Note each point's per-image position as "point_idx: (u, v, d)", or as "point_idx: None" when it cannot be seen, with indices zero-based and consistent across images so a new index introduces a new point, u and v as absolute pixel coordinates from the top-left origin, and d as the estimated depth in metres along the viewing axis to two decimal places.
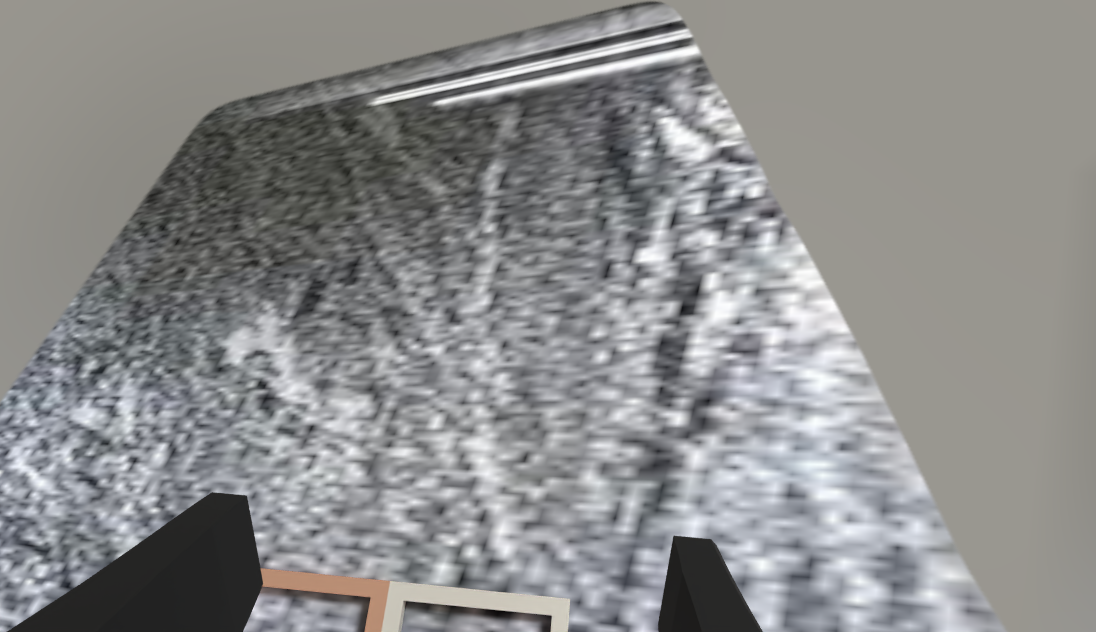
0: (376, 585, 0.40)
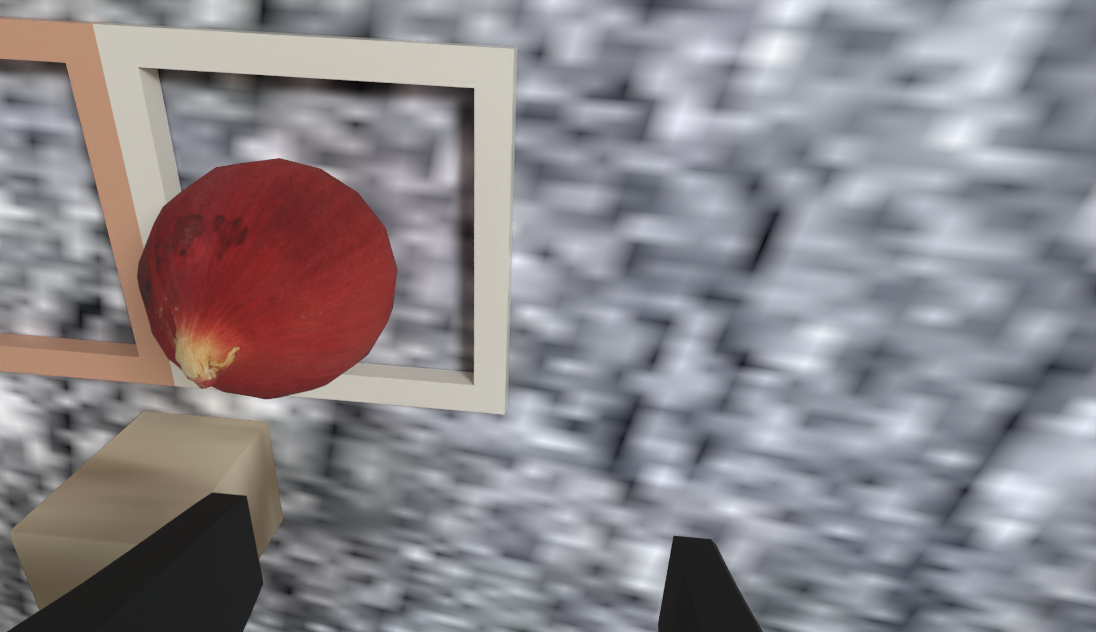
0: (66, 35, 0.17)
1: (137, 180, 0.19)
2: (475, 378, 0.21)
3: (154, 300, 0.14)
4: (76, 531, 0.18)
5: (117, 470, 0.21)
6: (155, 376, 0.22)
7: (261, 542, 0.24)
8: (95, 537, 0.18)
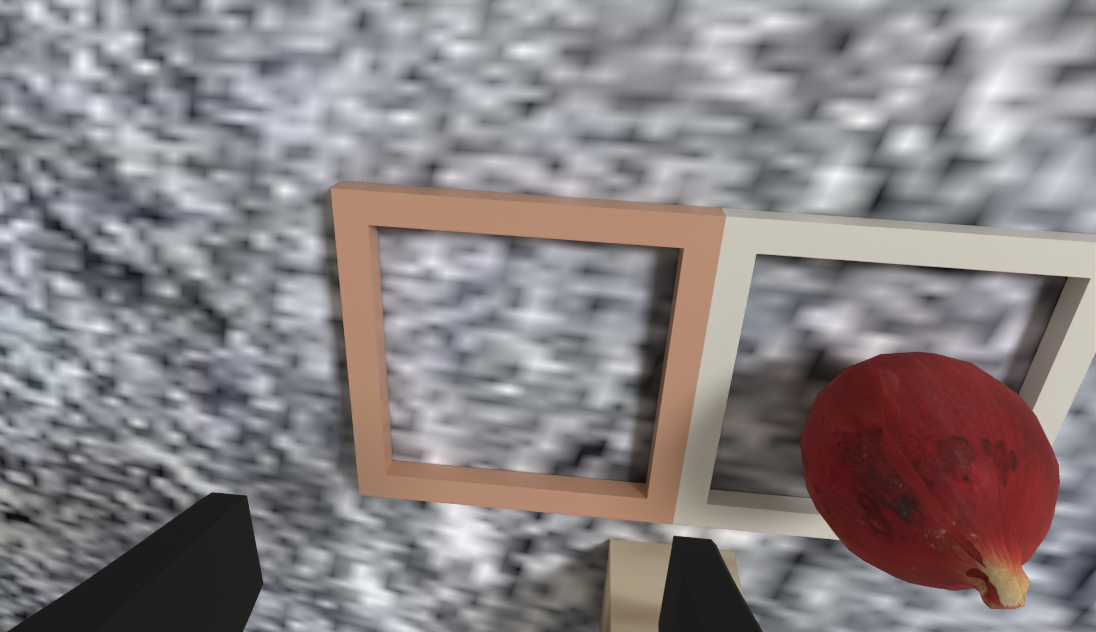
0: (695, 225, 0.18)
1: (712, 348, 0.20)
2: None
3: (927, 519, 0.15)
4: None
5: (646, 613, 0.22)
6: (656, 515, 0.23)
7: None
8: None
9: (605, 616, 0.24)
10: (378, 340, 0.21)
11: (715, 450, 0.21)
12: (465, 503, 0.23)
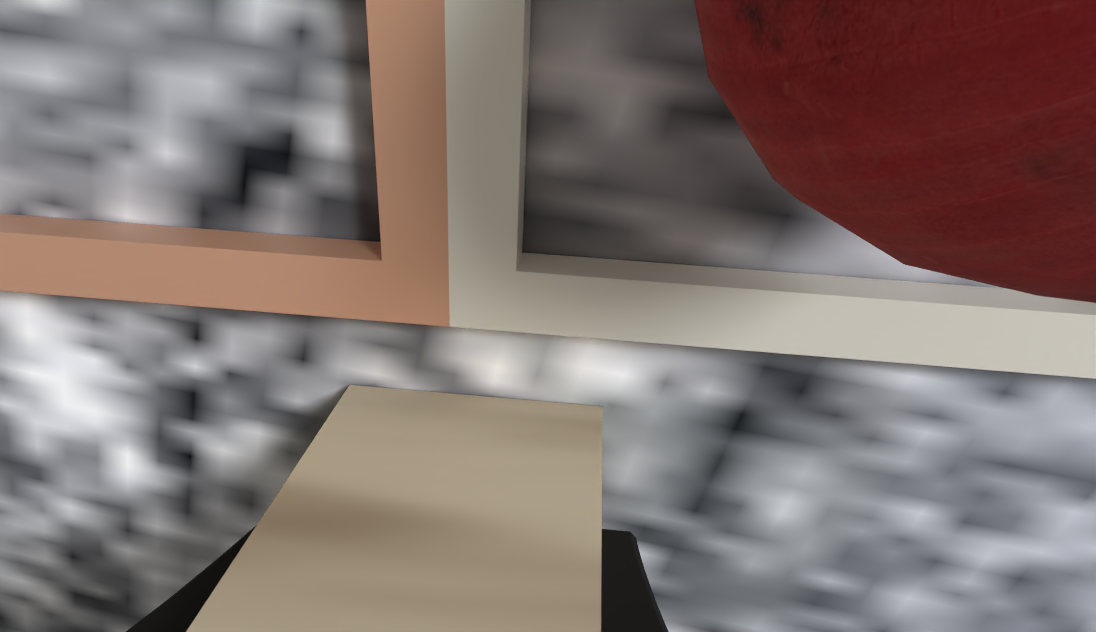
0: None
1: None
2: None
3: None
4: None
5: (353, 516, 0.09)
6: (410, 305, 0.10)
7: None
8: None
9: None
10: None
11: (517, 114, 0.09)
12: None
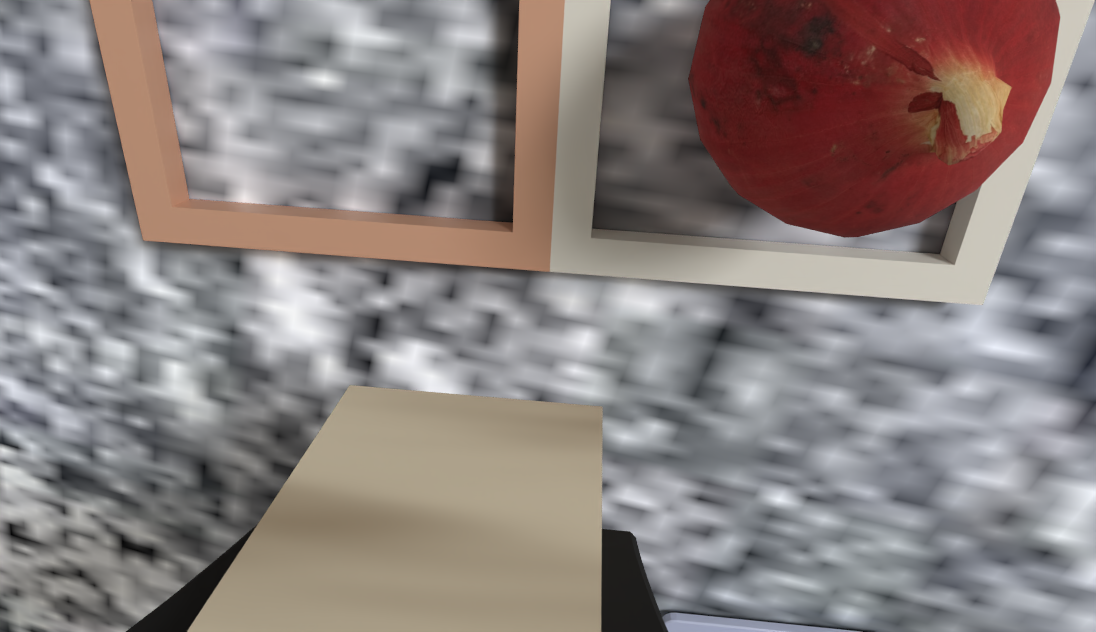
0: None
1: None
2: (960, 255, 0.16)
3: (848, 41, 0.09)
4: None
5: (353, 517, 0.09)
6: (527, 258, 0.17)
7: None
8: None
9: None
10: None
11: (596, 149, 0.16)
12: (279, 249, 0.18)
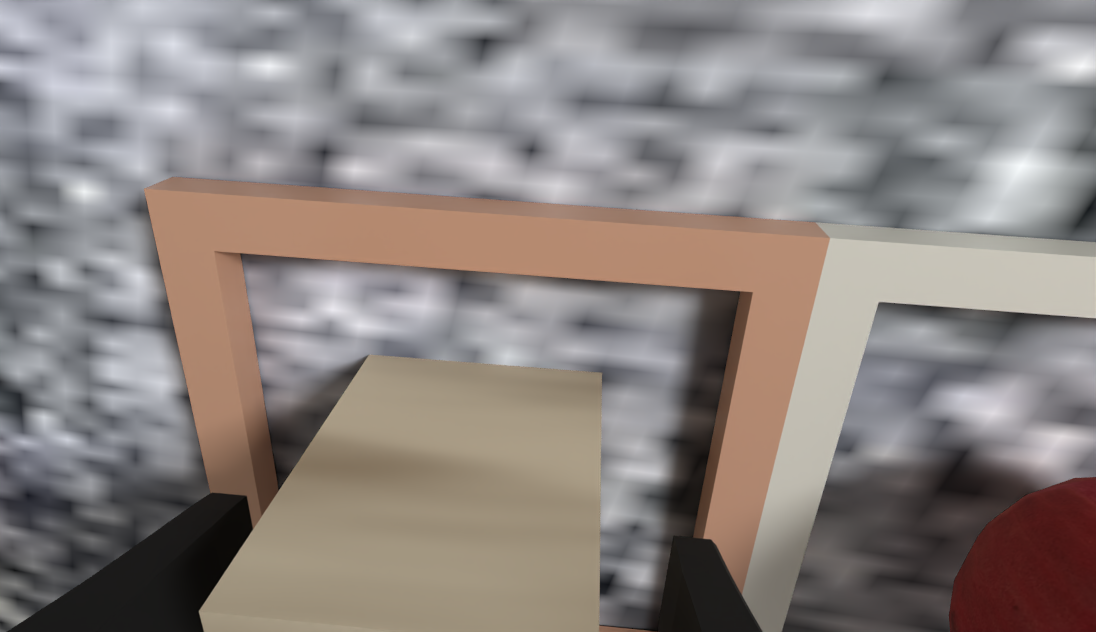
0: (775, 253, 0.10)
1: (792, 453, 0.12)
2: None
3: None
4: (359, 609, 0.08)
5: (378, 462, 0.10)
6: None
7: None
8: (411, 625, 0.07)
9: None
10: (252, 432, 0.13)
11: (787, 600, 0.14)
12: None
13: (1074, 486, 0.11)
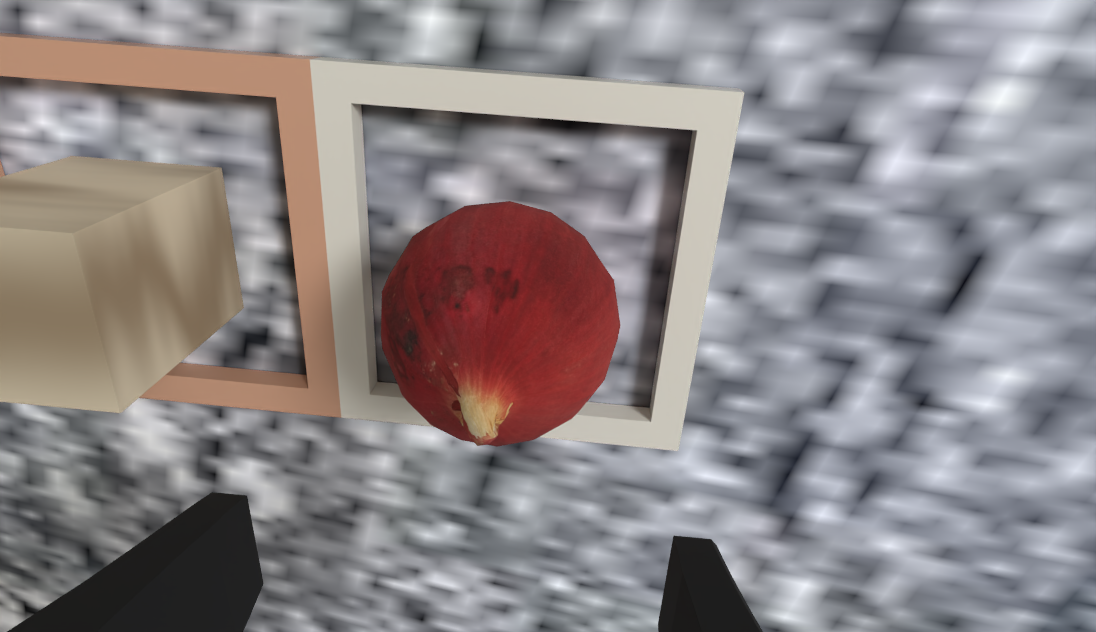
0: (281, 70, 0.17)
1: (332, 214, 0.19)
2: (653, 415, 0.21)
3: (423, 352, 0.14)
4: None
5: (26, 186, 0.17)
6: (322, 407, 0.22)
7: (213, 318, 0.19)
8: None
9: None
10: None
11: (364, 332, 0.20)
12: None
13: None
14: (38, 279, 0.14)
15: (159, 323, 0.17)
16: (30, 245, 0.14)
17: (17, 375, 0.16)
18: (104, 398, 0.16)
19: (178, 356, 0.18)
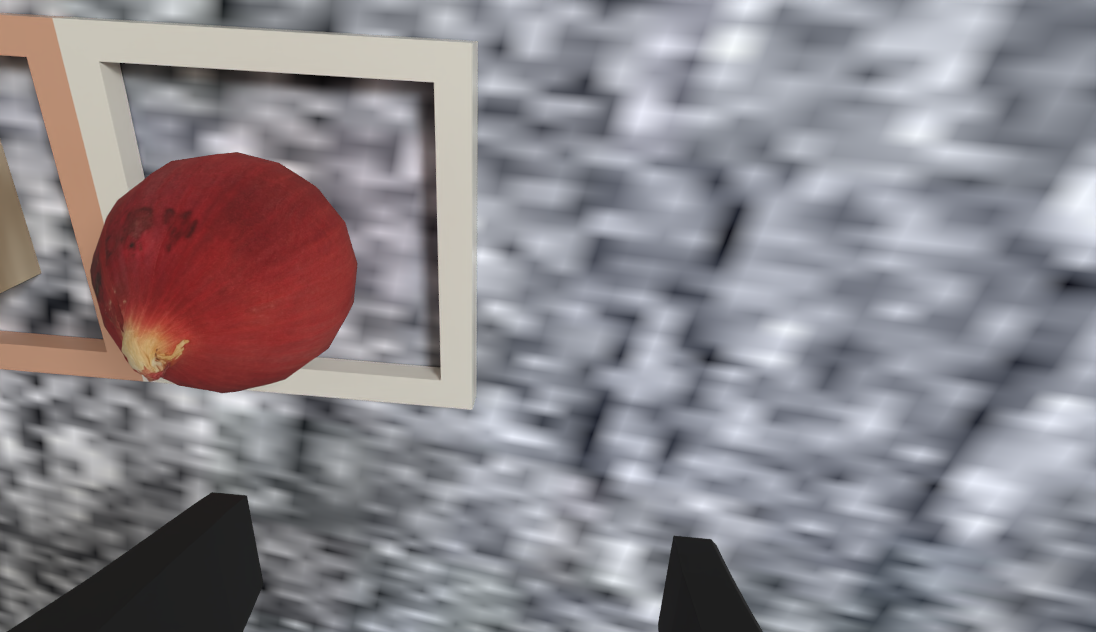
0: (26, 29, 0.17)
1: (100, 175, 0.19)
2: (442, 373, 0.21)
3: (104, 293, 0.14)
4: None
5: None
6: (123, 371, 0.22)
7: None
8: None
9: None
10: None
11: None
12: None
13: None
14: None
15: None
16: None
17: None
18: None
19: None
